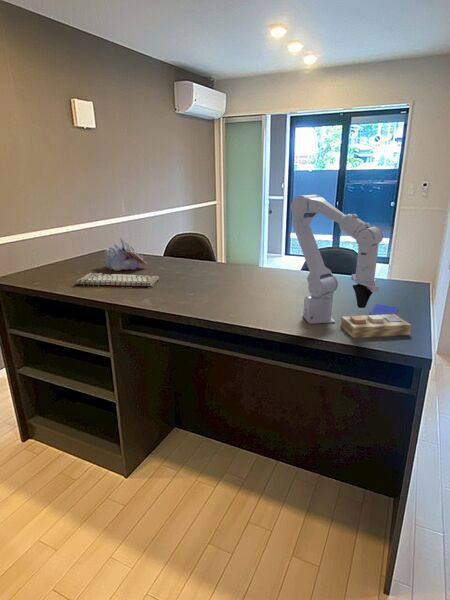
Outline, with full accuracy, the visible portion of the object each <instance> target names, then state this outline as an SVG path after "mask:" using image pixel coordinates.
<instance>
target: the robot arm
mask: <svg viewBox="0 0 450 600" xmlns="http://www.w3.org/2000/svg"><path fill="white" fill-rule="evenodd" d="M289 208H290V212H291V214H292V227H293V230H294V234H295V235H296V239H297V241H298V243H299V246H300V248H301V252H302V254H303V258H304V260H305V263H306V265H307V268H308V271H309V273H308V275H307V277H306V279H307V283H308V285H307V287H308V291H309V292H308V293H309V295H306V296H305V297H304V300H303V310H302V311H303V312H302V313H303V314H302V317H303V319H305V321H307V323H308V324H311V325H312V324H327V323H328V324H329V323H330V324H331V323H333V324H334V323H336V320H334V318H333V317H332V311H333V310H332V309H333V301H334V293H335V291H336V290H338V287H339V281H338V280H337V278H336V276H334V274H333V273H332V270H331V269H330V268H328V267H326V265H325V262H324V260H323V257H322V253H321V252H320V250H319V249H320V248H319V246H318V243H317V241H316V239H315V236H314V232H313V230H312V228H311V227H312V226H311V222H312V220H313V219H314V218H315V217H316V216H317V214H319V213H320V214H321V215H323V216H325V217H326V218H328V219H330V220H331V221H333V222H335V223H337V224H338V227H339V230H340V231H342V232H344V233H346V234H347V235H348V236H350V237H351V238H352V239H354V240H355V241H356V244H357V247H358V248H357V259H356V269H355V273H352V274H351V277H350V279H351V281H353V282H354V283H356V284H353V285H352V288H353V291H354V293H355V300H356V306H357V308H359V309H363V308H364V309H365V308H366V307H367V305H368V303H369V300H370V299H371V296H372V294H373V293H379V289H380V286H379V285H378V284H377V283H378V281H379V280H378V279H377V278H375V276H376V269H377V262H378V253H379V244H380V243H381V242H382V240H383V238H384V233H383V231H382V229H381V228H379V227H378V226H377V225H371V224H370V223H369V222H365V221H363V220H362V219H360V218H359V215H357V214H356V213H348V214H345V213H343V212H342V211H340V210H339V209H338V208H336V207H335V206H334V205H332V204H331V203H330V202H328V201H327V200H326V199H325V198H324V197H322V196H320V195H319V194H316V193H314V194H308V195H306V194H304V195H303V194H302V195H301V194H298V195H296V196H295V197H293V199H292V201H291V203H290V206H289Z"/></svg>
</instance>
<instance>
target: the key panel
mask: <svg viewBox="0 0 450 600" xmlns="http://www.w3.org/2000/svg"><path fill="white" fill-rule="evenodd" d="M368 315H369V314H368ZM368 315H367V314H366V315H361V316H362V317H363V318H365V319H366V324H354V323H352V322H351V321H350V317H351V316H352V315H349V316H348V315H346V316H341V318H340V328H342V330H344V331H345V332H346V333H347V334H348V335H349V336H350V337H352V338H353V339H357V338H358V339H359V338H374V337H375V338H376V337H378V338H379V337H394V336H396V337H398V336H410V335H411V333H410V332H411V327H412V324H411V323H409V322H407V321H406V320H404V319H402V318H401V317H400V316H398V315H397V314H396V315H395V314H385V315H379V316H380V317H382V318H383V319H384V318H389V317H395V318H397V319H398V320H400V321H401V322H388V321H387V320H385V319H384V320H383V323H371V322H370V321H368V320H367V319H368Z"/></svg>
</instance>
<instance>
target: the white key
mask: <svg viewBox="0 0 450 600" xmlns="http://www.w3.org/2000/svg"><path fill="white" fill-rule="evenodd" d="M367 320H368V321H370V322H371V323H383V320H384V319H383V318H382V317H380V316H379V315H369V314H368V319H367Z"/></svg>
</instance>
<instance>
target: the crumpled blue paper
mask: <svg viewBox="0 0 450 600" xmlns="http://www.w3.org/2000/svg"><path fill="white" fill-rule="evenodd" d="M119 239H120V244H121V245H119V243H117V242H116V243H114V245H113V246H114V247H112V246H109V247H108V249H106V250H104V258H105V261H104V264H105V266H106V268H108V270H111V271H113V270H114V272H115V271H116V272H119V271H123V270H125V271H129V270H132V271H135V270H136V269H137V268H139V267H140V264H143V265H145V266H148V264H147V261H145V260H144V259H143V258H144V257H143V256H144V255H141V254H140V253H139V252H138V251H135V249H134V248H133V247H132V246H130V244H128V243H127V242H126V241H125V240H124V239H123V238H122V237H120V238H119ZM112 269H113V270H112Z"/></svg>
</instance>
